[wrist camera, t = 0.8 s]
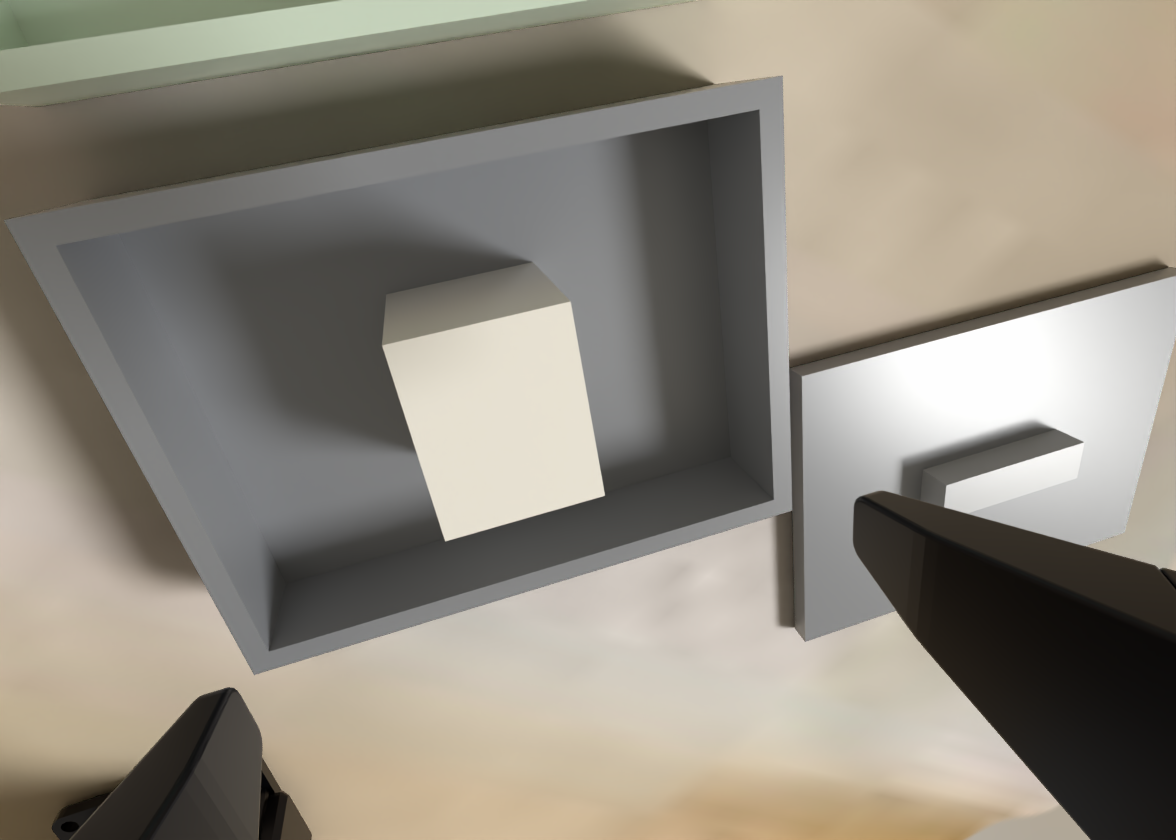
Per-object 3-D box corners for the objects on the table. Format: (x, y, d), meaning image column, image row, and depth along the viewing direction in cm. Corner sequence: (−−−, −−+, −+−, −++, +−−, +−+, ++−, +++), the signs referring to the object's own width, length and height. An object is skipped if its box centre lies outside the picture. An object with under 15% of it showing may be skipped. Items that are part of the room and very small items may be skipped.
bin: (276, 592, 21) (254, 674, 17) (84, 200, 15) (2, 220, 12) (739, 459, 23) (792, 510, 20) (716, 83, 18) (782, 75, 15)
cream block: (436, 456, 19) (445, 541, 15) (386, 294, 17) (381, 345, 13) (564, 422, 20) (604, 495, 16) (532, 262, 18) (570, 301, 14)
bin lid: (794, 628, 27) (821, 662, 26) (789, 368, 22) (822, 389, 20) (1107, 523, 30) (1151, 547, 28) (1170, 266, 25) (1229, 277, 23)
